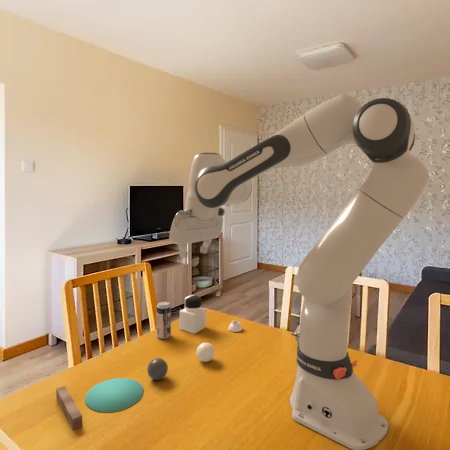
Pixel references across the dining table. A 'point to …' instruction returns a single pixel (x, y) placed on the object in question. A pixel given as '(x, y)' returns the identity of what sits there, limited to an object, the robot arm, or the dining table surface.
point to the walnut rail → (69, 407)
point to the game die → (297, 333)
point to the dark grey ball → (157, 369)
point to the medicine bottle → (192, 315)
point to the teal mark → (114, 395)
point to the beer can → (163, 320)
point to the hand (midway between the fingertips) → (193, 254)
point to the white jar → (235, 326)
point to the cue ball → (205, 352)
